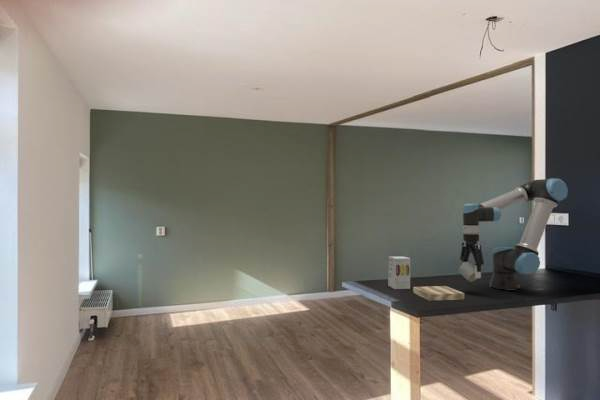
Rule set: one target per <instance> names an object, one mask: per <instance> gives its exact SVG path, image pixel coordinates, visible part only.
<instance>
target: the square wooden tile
mask: <svg viewBox="0 0 600 400" xmlns="http://www.w3.org/2000/svg"><path fill="white" fill-rule="evenodd" d="M412 291H413V294H415V295H417V296H419V297H421V298H423V299H425V300H427V301H429V302H431V301H432V302H435V301H456V300H458V301H459V300H465V292H462V291H460V290H457V289H455V288H451V287H450V286H447V285H436V286H435V285H433V286H432V285H431V286H428V285H427V286H413V287H412Z"/></svg>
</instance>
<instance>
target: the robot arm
mask: <svg viewBox="0 0 600 400" xmlns="http://www.w3.org/2000/svg"><path fill="white" fill-rule="evenodd" d="M568 190H569V189H568V186H567V184H566V183H565V182H564V180H563V179H560V178H553V177H552V178H551V177H550V178H545V179H543V178H542V179H533V180H531V181H528V182H526V183H523V184H522V185H519V186H517V187H515V188H514V189H513V190H512V191H509V192H506V193H503V194H502V195H499V196H497V197H494V198H491V199H489V200H487V201H484V202H481V203H464V204H463V206H462V225H463V226H462V229H463V231H462V232H463V239H462V240H463V241H464V242H462V243H461V252H460V257H459V260H460V261H461V262H462V264H463V263H465V262H469V258H470V256H471V255H470V254H472V256H473V259H474V263H475V264H474V267H475V278H477V279H481V278H482V265H484V264H485V262H484V258H483V257H484V256H483V253H482V252H483V251H482V245H481V244H478V242H479V241H480V234H479V233H480V223H481V222H484V223H485V222H486V223H487V222H488V223H489V222H492V223H493V222H497V221H498V222H499V220H500V219H501V217H502V214H501V211H502V210H505V209H508V208H510V207H513V206H514V205H517V204H520V203H521V204H525V203H527V202H532V201H534V203H535V204H534V206H533V208H532V211H531V213H530V216H529V219H528V221H527V223H526V226H525V229H524V231H523V232H522V236H521V239H520V241H519V243H516V244H515V245H514V246H507V247H506V246H505V247H504V246H502V247H494V248H493V250H492V276H491V278H490V282H489V288H491V287H493V288H497V289H496V290H498V289H518V288H520V289H521V285H520V282H519V280H518V277H517V274H521V275H527V276H529V275H532V274H534V273H536V272H537V271H538V270H539V269H540V266H541V261H540V257H539V251H538V247H539V245H540V242H541V240H542V237H543V235H544V232H545V230H546V226H547V224H548V222H549V219H550V218H551V217H550V216H551V214H552V211H553V209H554V208H557V207H558V205H559V203H560V202H561V201H563V200H564V199H566V198H567V197H568V192H569V191H568ZM493 288H492V289H493Z"/></svg>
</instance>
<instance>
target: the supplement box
mask: <svg viewBox="0 0 600 400" xmlns="http://www.w3.org/2000/svg"><path fill="white" fill-rule="evenodd" d="M387 265H388V267H387V268H388V269H387V272H388V276H387V281H388V282H387V283H388V284H387V285H388V287H390V288H392V289H393V290H407V289H408V290H409V289H411V258H410V257H407V256H400V255H399V256H390V255H389V256H388V264H387Z"/></svg>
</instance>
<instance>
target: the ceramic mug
mask: <svg viewBox="0 0 600 400" xmlns="http://www.w3.org/2000/svg"><path fill="white" fill-rule="evenodd" d="M458 273H459V274H460V275H461V276H462V277H463V278H464V279H466V280H467V281H468V282H470V283H471V282H475V281H476V280H478V278H475V265H473V264H472V263H471V262H470V261H468V262H465V263H463V262H462V264H461V265H460V266H459V268H458Z"/></svg>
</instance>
